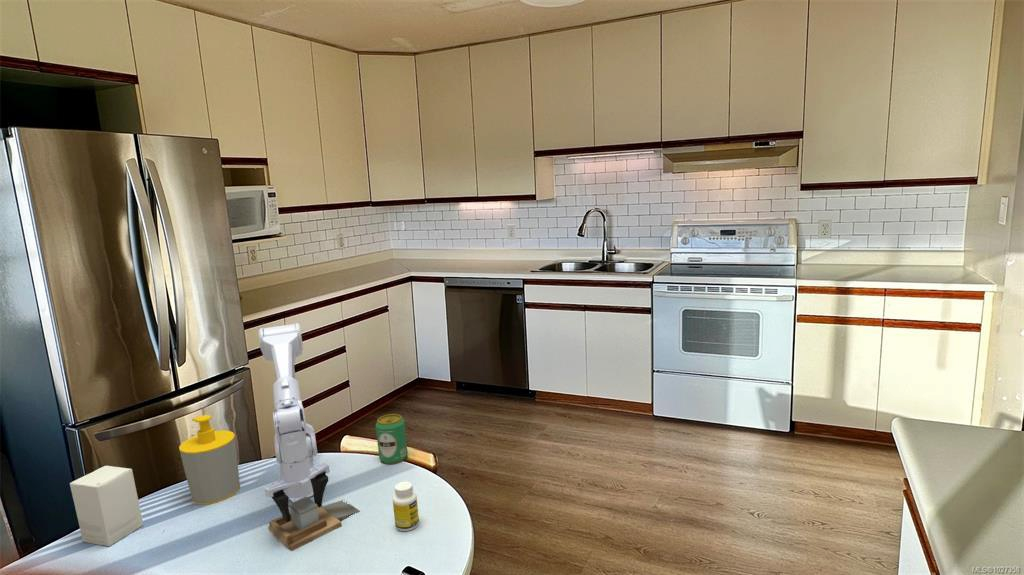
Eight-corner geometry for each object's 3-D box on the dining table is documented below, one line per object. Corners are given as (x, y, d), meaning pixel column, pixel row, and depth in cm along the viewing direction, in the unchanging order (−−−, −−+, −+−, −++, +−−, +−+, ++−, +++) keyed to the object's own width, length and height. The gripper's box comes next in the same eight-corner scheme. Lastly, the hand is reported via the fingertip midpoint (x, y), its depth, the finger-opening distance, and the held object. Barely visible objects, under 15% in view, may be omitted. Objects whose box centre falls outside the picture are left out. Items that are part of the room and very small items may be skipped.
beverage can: (375, 464, 163) (370, 424, 161) (385, 451, 170) (381, 413, 168) (402, 465, 161) (397, 424, 159) (411, 451, 169) (407, 413, 167)
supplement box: (145, 525, 140) (133, 467, 137) (109, 547, 132) (96, 487, 129) (118, 520, 143) (106, 464, 140) (81, 542, 135) (68, 482, 132)
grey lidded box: (291, 523, 134) (288, 504, 133) (308, 515, 137) (305, 496, 136) (302, 533, 130) (299, 513, 129) (320, 524, 133) (317, 504, 132)
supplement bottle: (414, 532, 129) (410, 492, 127) (391, 531, 130) (387, 491, 129) (422, 518, 134) (418, 480, 133) (400, 517, 136) (396, 479, 134)
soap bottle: (218, 477, 161) (206, 405, 158) (254, 483, 157) (242, 409, 153) (176, 502, 150) (162, 425, 146) (213, 509, 145) (200, 430, 141)
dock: (269, 532, 134) (267, 520, 134) (339, 499, 147) (338, 488, 146) (292, 553, 126) (290, 540, 125) (364, 516, 138) (363, 504, 138)
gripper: (270, 476, 123) (279, 533, 125) (333, 450, 133) (340, 504, 135) (257, 466, 128) (266, 521, 130) (318, 442, 138) (325, 494, 140)
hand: (303, 512), depth 133 cm, fingers open, 7 cm apart
